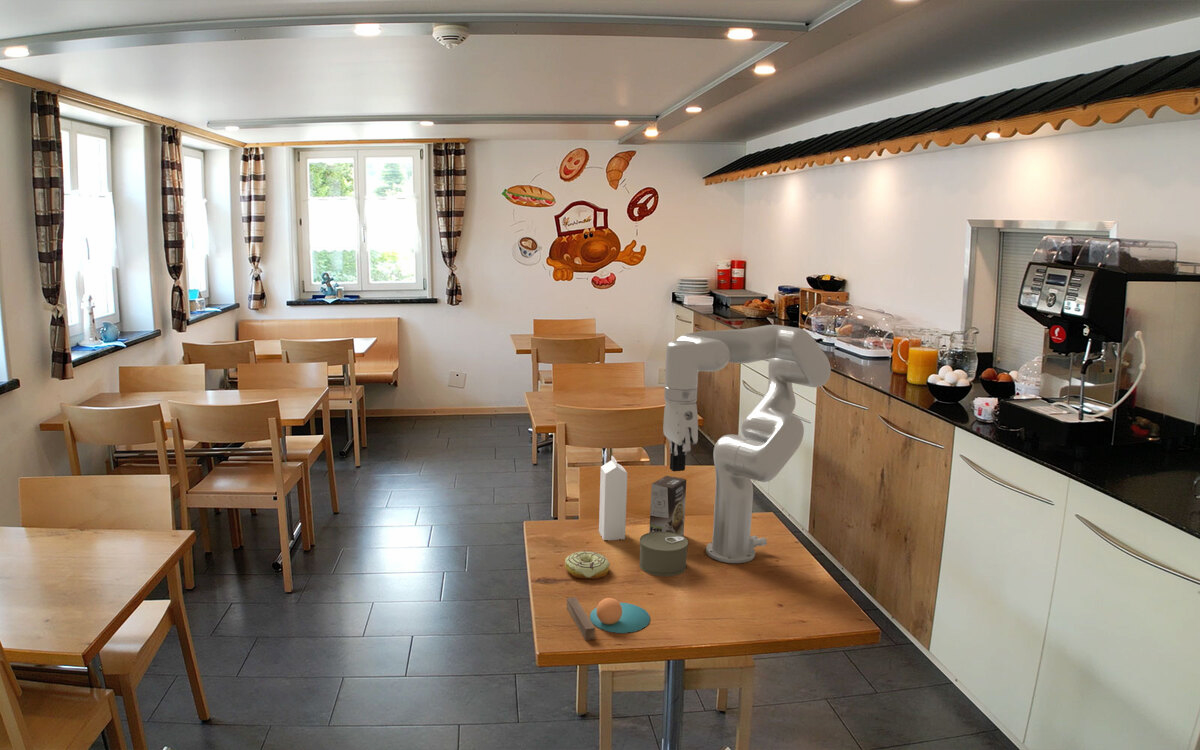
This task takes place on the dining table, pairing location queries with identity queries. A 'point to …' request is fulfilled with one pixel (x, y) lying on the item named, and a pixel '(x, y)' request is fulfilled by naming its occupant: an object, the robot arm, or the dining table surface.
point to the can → (663, 553)
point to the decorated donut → (587, 565)
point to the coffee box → (668, 505)
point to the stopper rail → (580, 618)
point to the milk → (612, 501)
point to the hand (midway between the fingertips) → (677, 469)
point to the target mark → (624, 619)
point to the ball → (609, 611)
